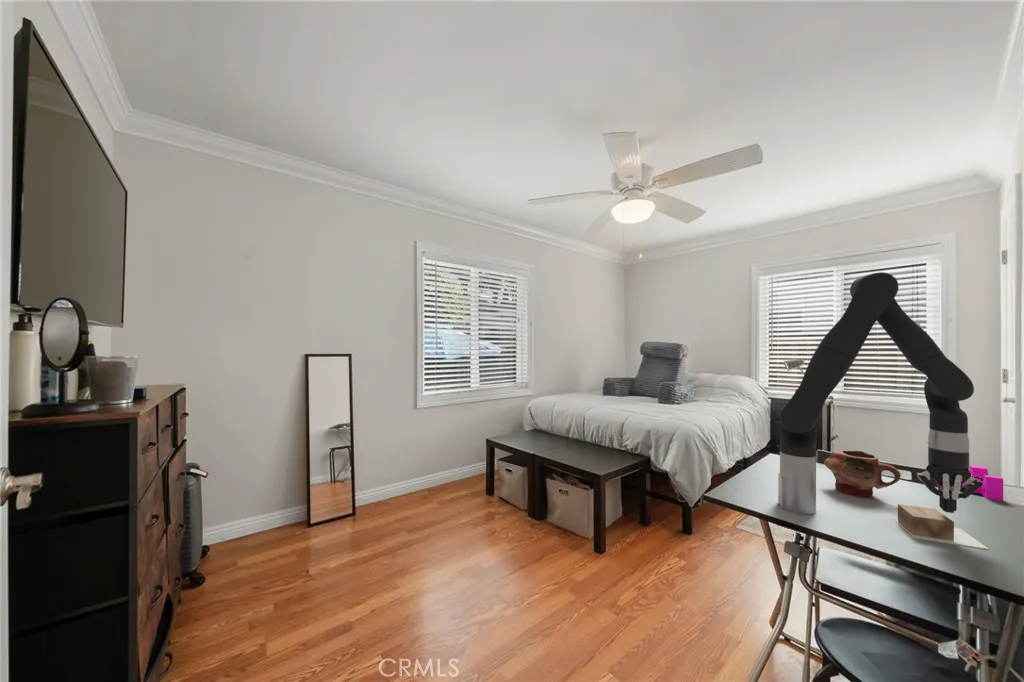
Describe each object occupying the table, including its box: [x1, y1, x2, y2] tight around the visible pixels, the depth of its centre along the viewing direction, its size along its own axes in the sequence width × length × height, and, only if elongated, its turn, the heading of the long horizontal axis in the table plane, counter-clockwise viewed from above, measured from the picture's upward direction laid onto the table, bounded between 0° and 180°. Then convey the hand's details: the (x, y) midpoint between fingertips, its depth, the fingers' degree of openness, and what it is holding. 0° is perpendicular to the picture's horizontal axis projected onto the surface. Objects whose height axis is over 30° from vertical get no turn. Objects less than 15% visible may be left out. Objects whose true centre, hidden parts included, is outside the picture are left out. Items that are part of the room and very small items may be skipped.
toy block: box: [961, 464, 1004, 501], centre depth 140 cm, size 15×6×8 cm, turn 146°
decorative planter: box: [823, 449, 902, 499], centre depth 137 cm, size 20×12×14 cm, turn 42°
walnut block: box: [897, 503, 955, 541], centre depth 110 cm, size 5×9×8 cm
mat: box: [893, 518, 989, 551], centre depth 109 cm, size 14×12×1 cm
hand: (948, 511), depth 108 cm, fingers closed
